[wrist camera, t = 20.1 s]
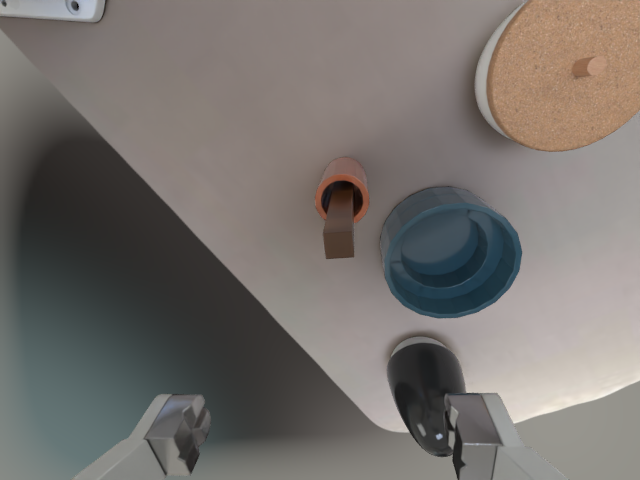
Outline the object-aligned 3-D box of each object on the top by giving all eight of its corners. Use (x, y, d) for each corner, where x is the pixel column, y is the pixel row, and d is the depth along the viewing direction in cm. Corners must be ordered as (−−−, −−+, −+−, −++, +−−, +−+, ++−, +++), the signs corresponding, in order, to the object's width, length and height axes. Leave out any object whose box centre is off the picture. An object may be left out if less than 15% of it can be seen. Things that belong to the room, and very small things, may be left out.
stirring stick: (337, 189, 39) (325, 259, 22) (336, 173, 38) (322, 233, 22) (354, 188, 38) (354, 257, 22) (352, 171, 38) (351, 231, 21)
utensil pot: (325, 200, 40) (318, 228, 32) (320, 159, 38) (311, 177, 30) (367, 197, 39) (370, 224, 31) (364, 154, 37) (367, 171, 29)
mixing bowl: (382, 288, 45) (386, 320, 38) (377, 190, 39) (382, 209, 33) (489, 283, 43) (512, 316, 36) (500, 179, 37) (531, 197, 31)
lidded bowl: (486, -15, 30) (554, -69, 20) (619, 12, 30) (754, -28, 20) (440, 125, 35) (474, 138, 25) (552, 148, 35) (631, 170, 25)
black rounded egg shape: (449, 377, 50) (486, 483, 37) (383, 374, 51) (394, 476, 38) (458, 326, 46) (502, 424, 32) (385, 324, 47) (398, 419, 33)
